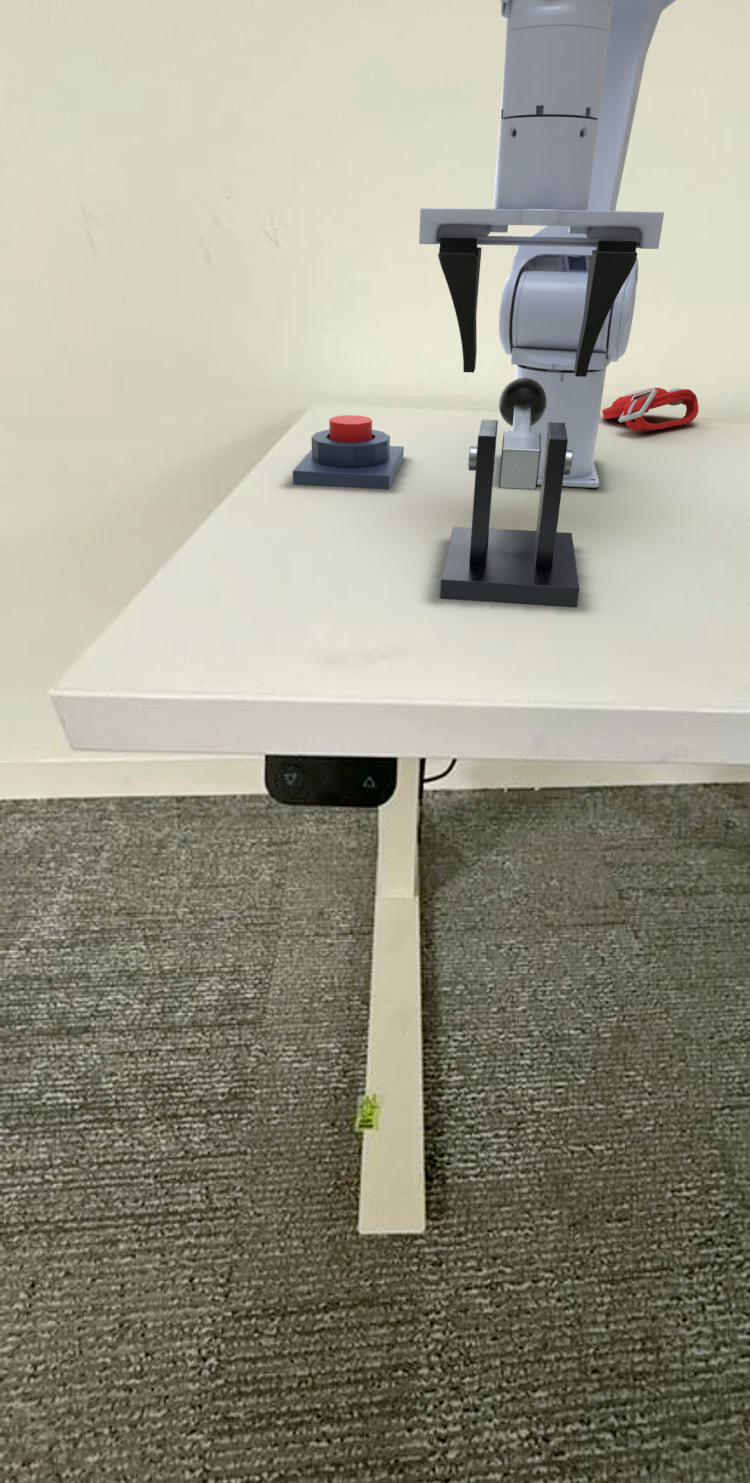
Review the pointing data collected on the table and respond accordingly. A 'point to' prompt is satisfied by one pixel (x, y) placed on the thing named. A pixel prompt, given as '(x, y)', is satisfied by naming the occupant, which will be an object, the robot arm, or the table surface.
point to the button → (350, 428)
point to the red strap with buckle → (651, 407)
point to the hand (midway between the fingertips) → (524, 372)
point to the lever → (521, 433)
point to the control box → (350, 462)
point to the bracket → (514, 537)
